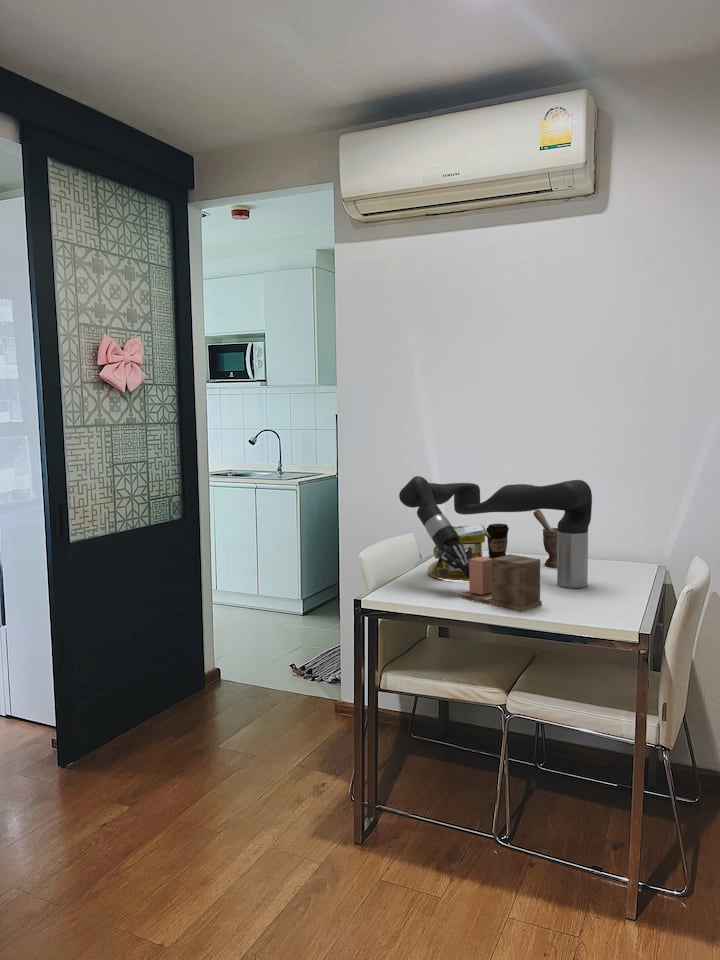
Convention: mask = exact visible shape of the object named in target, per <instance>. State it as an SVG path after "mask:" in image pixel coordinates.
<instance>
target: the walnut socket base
mask: <svg viewBox="0 0 720 960" xmlns="http://www.w3.org/2000/svg"><path fill="white" fill-rule="evenodd" d="M460 597H462V598H461V599H463V598H466V599H465V600H467V599H469V600H468V601H472V600H474V601H473V602H476V601H478V602H477V603H480V602H482V603H481V604H484V603H486V604H485V605H489V604H491V605H490V606H493V605H494V607H497V606H498V608H501V607H502V609H506V610H510V611H514V612H518V613H519V612H520V613H523V612H526V611H528V610H531V609H534V608H537V607H540V606H542V605H543V604H542V603H543V601H542V600H541V559H540V558H534V557H528V556H523V555H515V554H509V553H508V554H506V555H505V556H501V557H497V558H493V559H492V592H491V593H487V594H484V595H481V594H476V593H472V592H469V590H468V591H465V592H461V593H459V598H460Z"/></svg>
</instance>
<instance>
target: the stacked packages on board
mask: <svg viewBox="0 0 720 960" xmlns="http://www.w3.org/2000/svg"><path fill="white" fill-rule="evenodd" d="M452 527H453V528H454V530H455V531H456V533H457V534H458V535H459V542H460V543H461V544H463V546H464V547H465V548H467V549H468V548H469V547H470V548H471V549H472V558H476V557H483V550H482V546H483V545H482V544H483V543H485V540H486V538H487V537H488V538H491V537H490V536H489V535H488V533H487V530H486V529H487V528H485V527H484V525H483V524H475V525H460V526H459V525H457V526H455V525H452ZM488 538H487V539H488ZM433 554H434V559H437V560H435V561H434V562H432V563H431V564H430V565H429V566H428V567H427V573H428V574H429V575H430V576H431V577H432V578H434V577H435V579H436V578H442V579H449V580H450V579H451V580H463V581H469V579H468V578H467V577H466V576H465V575H464V573H463V572H462V570H460V569H459V568H457V569H454V568H453V567H451V566H450V565H448V564H447V563H445V562H444V561H442V560H441V559H440V558H441V557H442V555H443V553H442V551H441V550H439V549H438V548H437V546H436V545H435V546H434V548H433ZM452 563H453V562H452ZM453 564H454V563H453Z"/></svg>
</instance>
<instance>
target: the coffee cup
mask: <svg viewBox="0 0 720 960" xmlns="http://www.w3.org/2000/svg"><path fill="white" fill-rule="evenodd" d="M485 529H486V531H487V533H488V535H489V536H490V537H491V538H488V537H486V538H487V550H488V558H491V559H493V558H497V557H501V556H505V555H507V552H506V551H507V547H508V533H509V530H510V528H509V526H508V524H505V523H492V524H488V526H487V528H485Z"/></svg>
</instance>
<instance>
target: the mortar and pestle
mask: <svg viewBox="0 0 720 960" xmlns="http://www.w3.org/2000/svg"><path fill="white" fill-rule="evenodd" d="M532 513H533V516H534V518H535V519H536V520H537V522H539V524H541V526H542V527H543V528H542V536H543V537H542V540H543V541H542V542H543V547H544V550H545V552H546V554H548V558H547V559H546V560H545V562H544V564H545V565H544V566H545V567H548V568H557V551H558V527H552V526H550V524H549V523H548V521H547V519H546V517H545V515H544V513H543V512H542V511H541V509H537V510H533V512H532Z"/></svg>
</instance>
